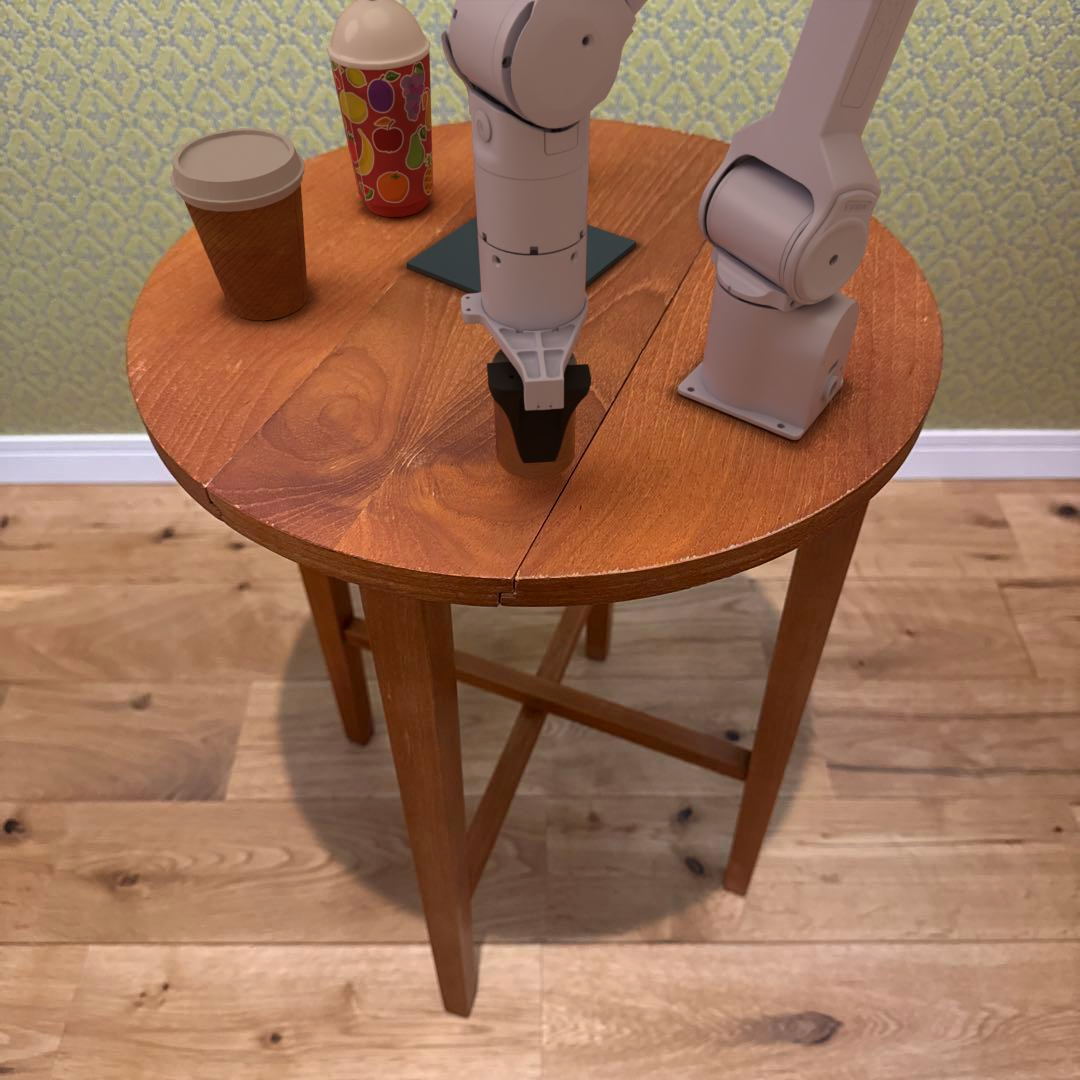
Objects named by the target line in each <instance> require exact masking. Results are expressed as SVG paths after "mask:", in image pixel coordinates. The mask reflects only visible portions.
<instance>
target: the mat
mask: <svg viewBox="0 0 1080 1080" xmlns="http://www.w3.org/2000/svg"><path fill="white" fill-rule="evenodd" d="M635 248H637V241H636V240H633V239H630V238H629V237H624V236H621V235H619V234H616V233H614V232H610V231H607V230H605V229H601V228H598V227H596V226H593V225H590V224H587V250H586V283H585V288H586V287H588V286H589V285H590V284H591V283H593V282H594V281H595V280H596V279H598V278H599V277H600V276H601V275H603V274H604V273H605V272H606V271H607V270H609V269H610V268H611V267H612V266H614V265H615V264H616V263H617V262H619V261H620V260H621V259H622V258H623V257H625V256H626V255H627V254H629V253H630V252H631V251H632V250H634V249H635ZM405 264H406V268H407V269H408V270H411V271H414V272H416V273H419V274H422V275H424V276H426V277H429V278H432V279H433V280H436V281H439V282H442V283H445V284H447V285H449V286H452V287H454V288H457V289H459V290H462V291H464V292H467V293H468V294H472V293H479V292H481V278H480V261H479V244H478V228H477V215H476V216H474V217H473V218H472V219H470V220H469V221H467V222H466V223H464V224H462V225H460V226H459V227H458V228H457V229H455V230H453V231H452V232H450V233H449V234H448V235H446V236H444V237H443V238H442V239H440V240H438V241H436V242H435V243H434V244H433V245H431V246H429V247H428V248H426V249H424V250H423V251H422V252H420V253H419V254H417V255H416V256H414V257H413V258H411V259H410V260H408V261H406V263H405Z"/></svg>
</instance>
